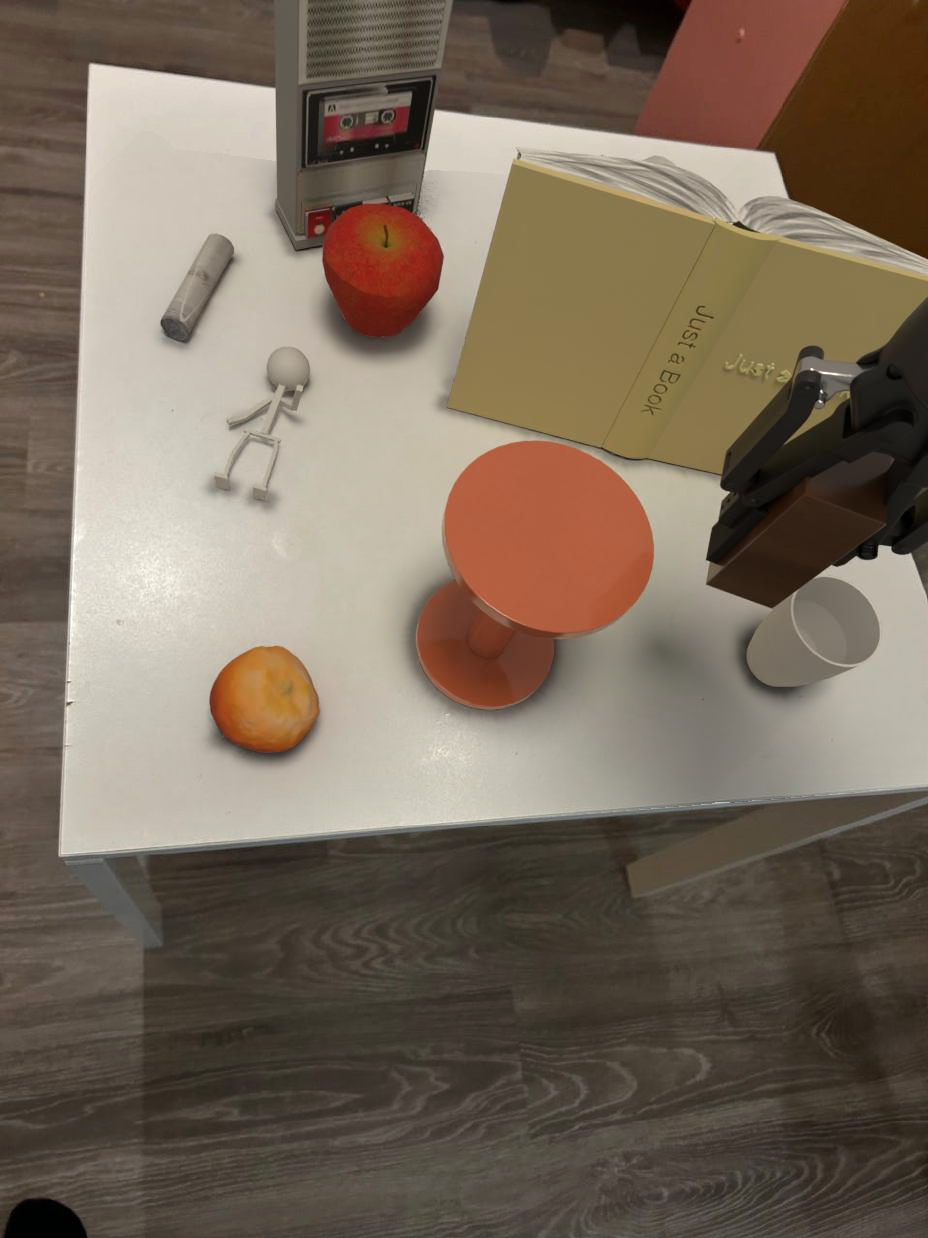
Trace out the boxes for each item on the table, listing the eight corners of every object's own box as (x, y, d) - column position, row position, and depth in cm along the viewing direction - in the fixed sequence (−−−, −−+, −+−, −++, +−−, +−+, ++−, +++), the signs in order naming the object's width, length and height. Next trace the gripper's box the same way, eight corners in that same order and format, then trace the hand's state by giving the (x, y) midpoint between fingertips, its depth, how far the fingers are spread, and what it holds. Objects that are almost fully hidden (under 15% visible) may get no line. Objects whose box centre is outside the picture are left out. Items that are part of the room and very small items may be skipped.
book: (444, 414, 79) (511, 169, 58) (453, 361, 83) (519, 114, 63) (791, 498, 83) (966, 298, 63) (783, 443, 88) (945, 239, 67)
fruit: (186, 662, 63) (237, 627, 58) (276, 675, 69) (330, 644, 63) (185, 765, 60) (238, 738, 55) (279, 770, 66) (336, 746, 60)
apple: (360, 383, 79) (372, 289, 68) (297, 306, 81) (298, 202, 70) (449, 340, 83) (474, 245, 72) (387, 267, 85) (402, 164, 74)
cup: (808, 628, 78) (876, 583, 69) (815, 709, 75) (888, 673, 66) (728, 614, 77) (787, 567, 68) (732, 696, 73) (794, 658, 64)
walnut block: (772, 609, 56) (887, 524, 45) (705, 584, 56) (804, 493, 45) (780, 549, 58) (892, 454, 48) (716, 525, 58) (813, 424, 47)
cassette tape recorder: (296, 253, 83) (299, -12, 61) (275, 210, 85) (270, -64, 62) (419, 230, 88) (464, -24, 65) (396, 189, 90) (433, -72, 67)
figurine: (196, 453, 67) (255, 310, 72) (205, 488, 72) (259, 353, 78) (270, 476, 67) (324, 332, 72) (273, 508, 73) (323, 373, 78)
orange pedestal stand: (540, 744, 68) (631, 663, 50) (381, 688, 67) (415, 586, 49) (577, 601, 74) (671, 483, 56) (431, 548, 73) (479, 411, 55)
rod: (208, 249, 81) (206, 227, 79) (235, 259, 82) (233, 237, 79) (160, 336, 76) (156, 315, 74) (189, 346, 77) (185, 325, 74)
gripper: (1206, 329, 37) (875, 558, 58) (844, 184, 36) (640, 471, 57) (1225, 458, 34) (868, 651, 55) (829, 303, 33) (619, 560, 54)
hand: (752, 559), depth 56 cm, fingers closed on walnut block, 5 cm apart
